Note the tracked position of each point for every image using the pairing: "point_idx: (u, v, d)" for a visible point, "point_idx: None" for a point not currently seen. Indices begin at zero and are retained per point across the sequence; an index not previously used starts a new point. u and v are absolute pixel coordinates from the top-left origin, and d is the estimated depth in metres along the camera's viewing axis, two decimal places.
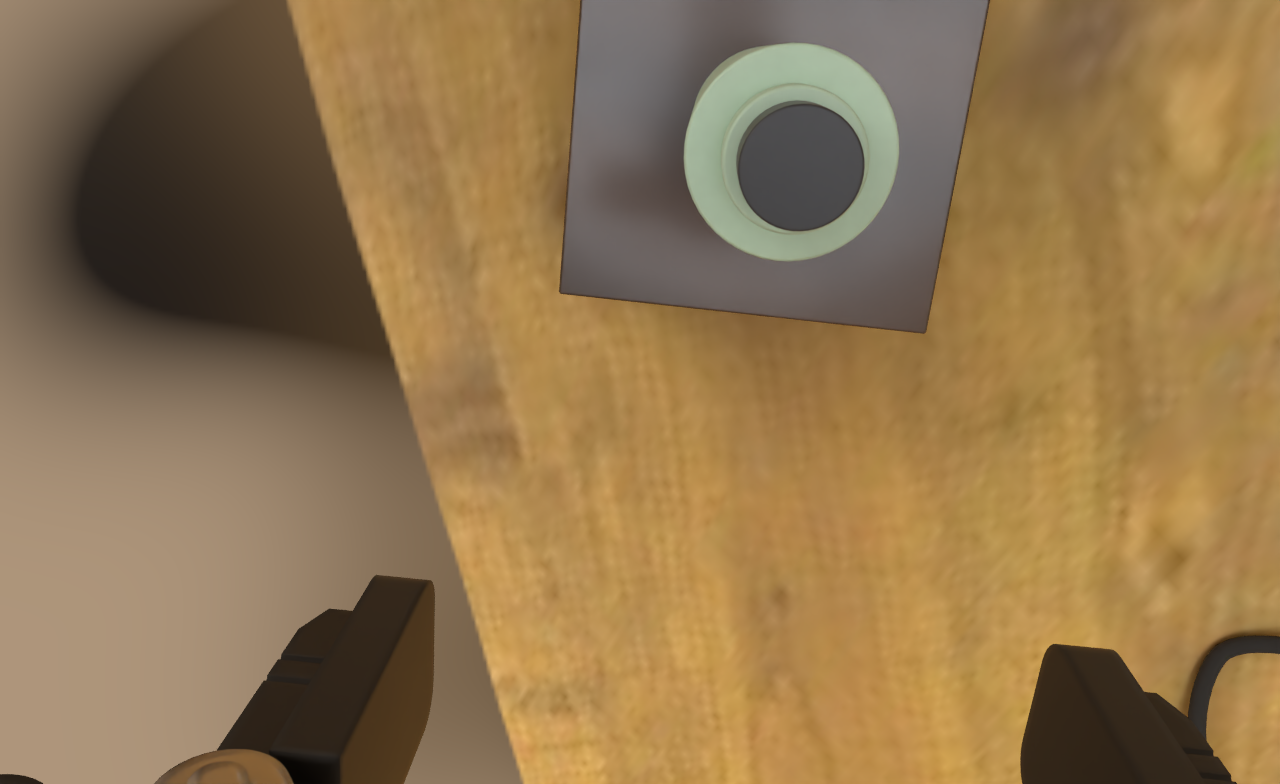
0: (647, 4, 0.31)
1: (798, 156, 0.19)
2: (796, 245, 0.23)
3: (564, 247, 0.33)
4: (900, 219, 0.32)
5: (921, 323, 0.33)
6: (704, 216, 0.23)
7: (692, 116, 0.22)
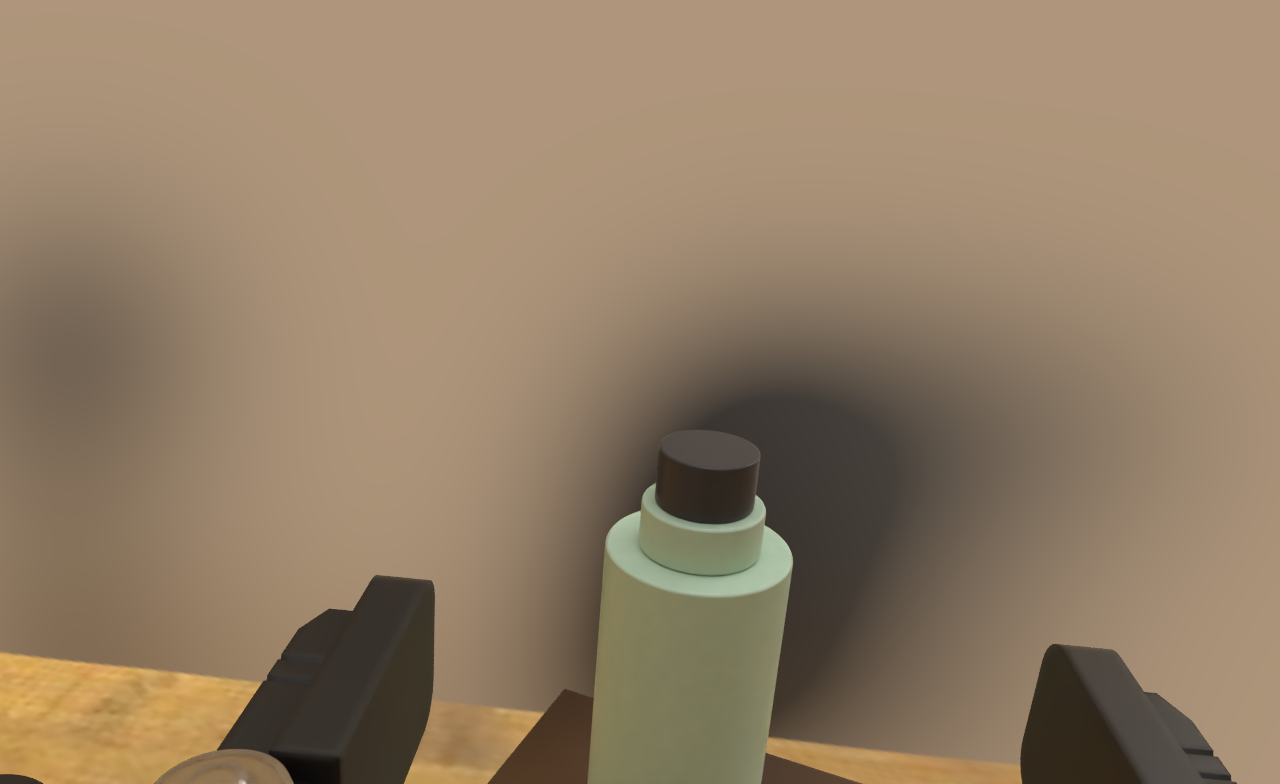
0: None
1: (720, 449, 0.24)
2: (621, 534, 0.25)
3: None
4: None
5: None
6: None
7: None
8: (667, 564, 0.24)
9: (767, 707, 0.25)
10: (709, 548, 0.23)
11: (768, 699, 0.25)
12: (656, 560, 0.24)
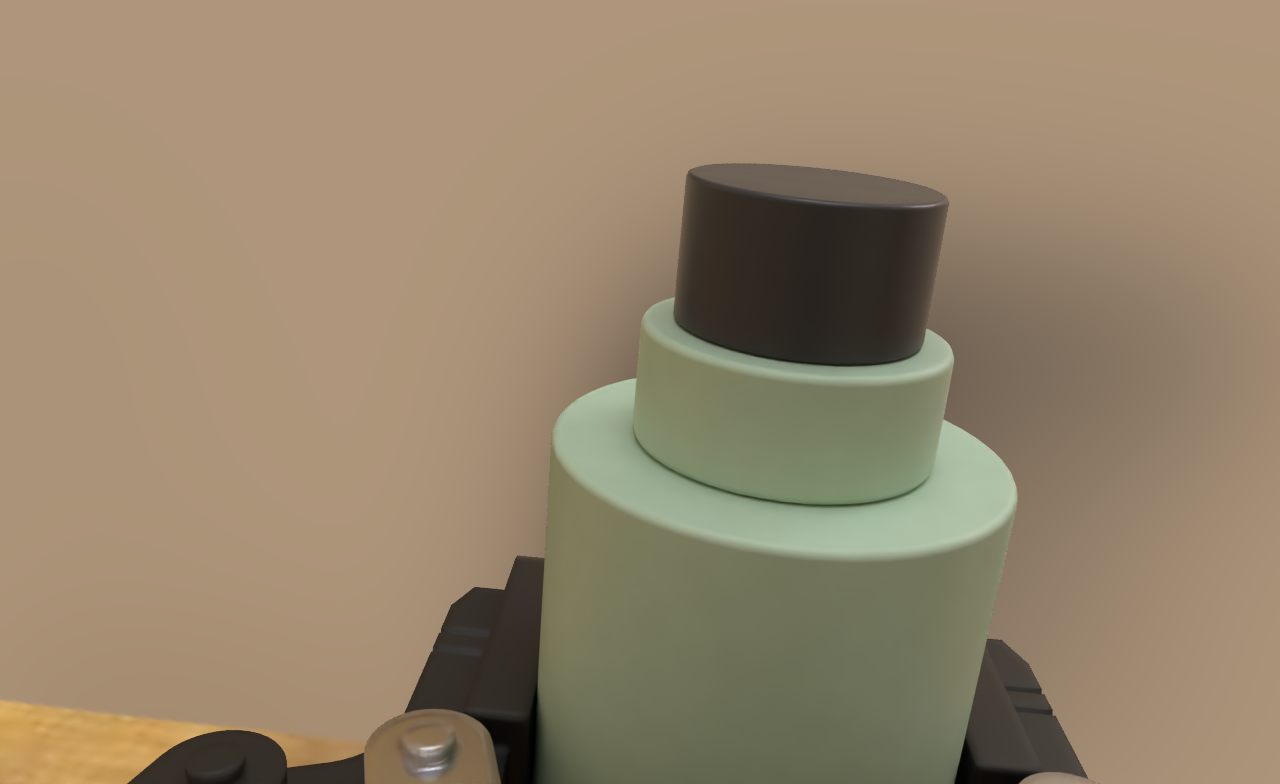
0: None
1: (842, 185, 0.09)
2: (592, 415, 0.11)
3: None
4: None
5: None
6: None
7: None
8: (707, 475, 0.09)
9: None
10: (822, 428, 0.09)
11: None
12: (677, 467, 0.09)
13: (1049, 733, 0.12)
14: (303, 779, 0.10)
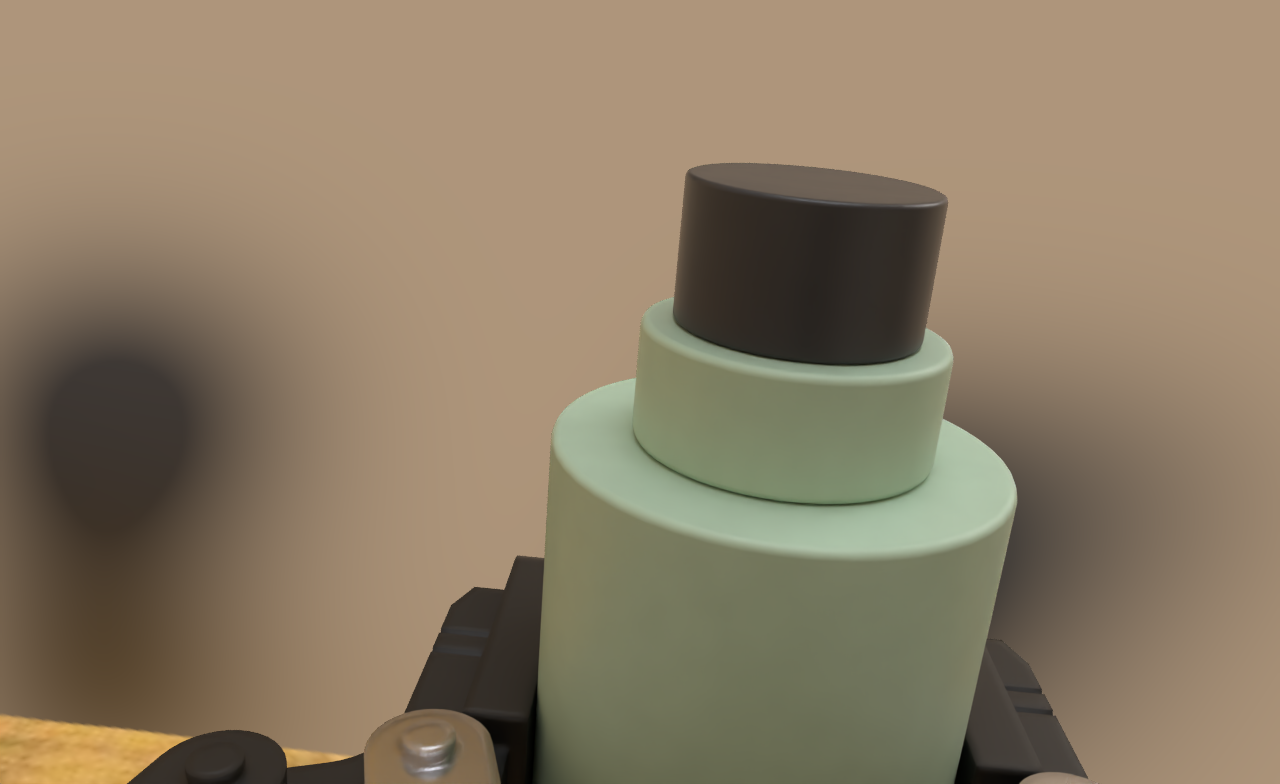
0: None
1: (842, 183, 0.09)
2: (592, 414, 0.11)
3: None
4: None
5: None
6: None
7: None
8: (706, 474, 0.09)
9: None
10: (822, 428, 0.09)
11: None
12: (677, 466, 0.09)
13: (1049, 733, 0.12)
14: (303, 780, 0.10)
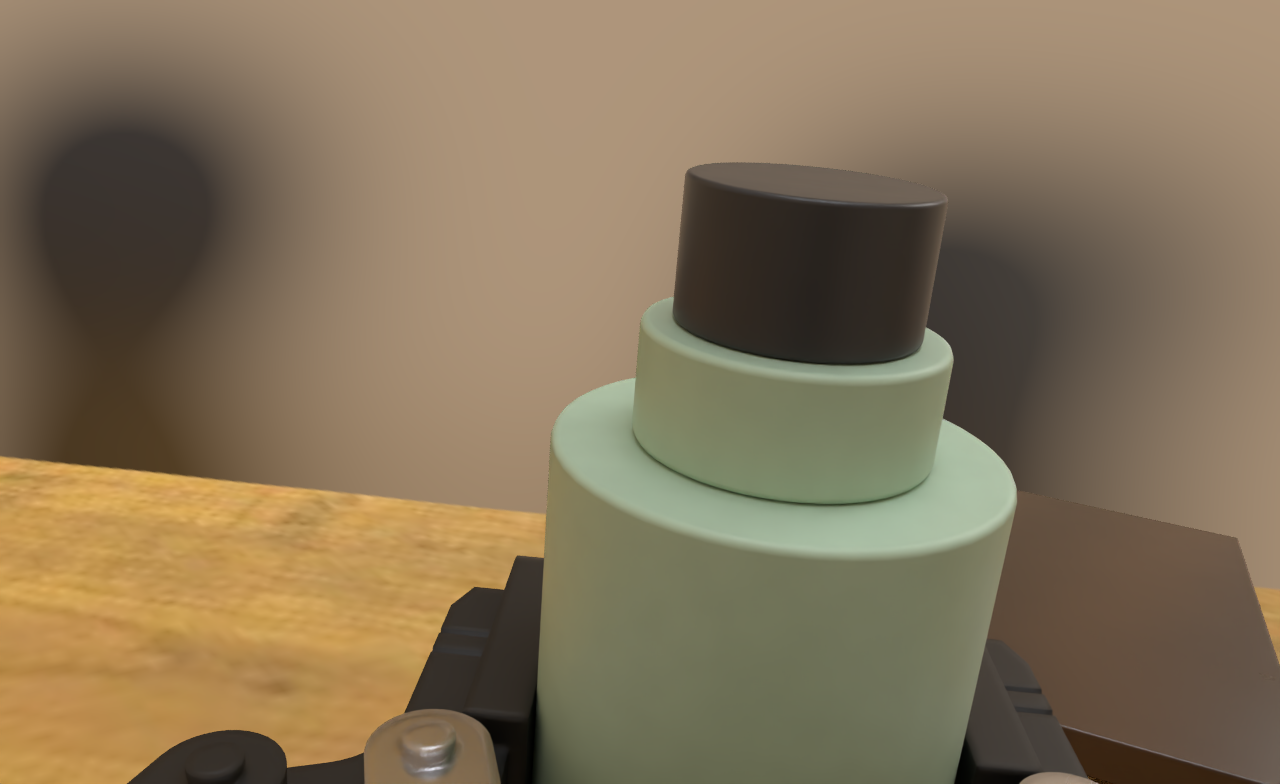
0: (1133, 542, 0.29)
1: (841, 182, 0.09)
2: (592, 414, 0.11)
3: None
4: None
5: None
6: None
7: None
8: (706, 474, 0.09)
9: None
10: (822, 427, 0.09)
11: None
12: (677, 466, 0.09)
13: (1049, 733, 0.12)
14: (303, 780, 0.10)
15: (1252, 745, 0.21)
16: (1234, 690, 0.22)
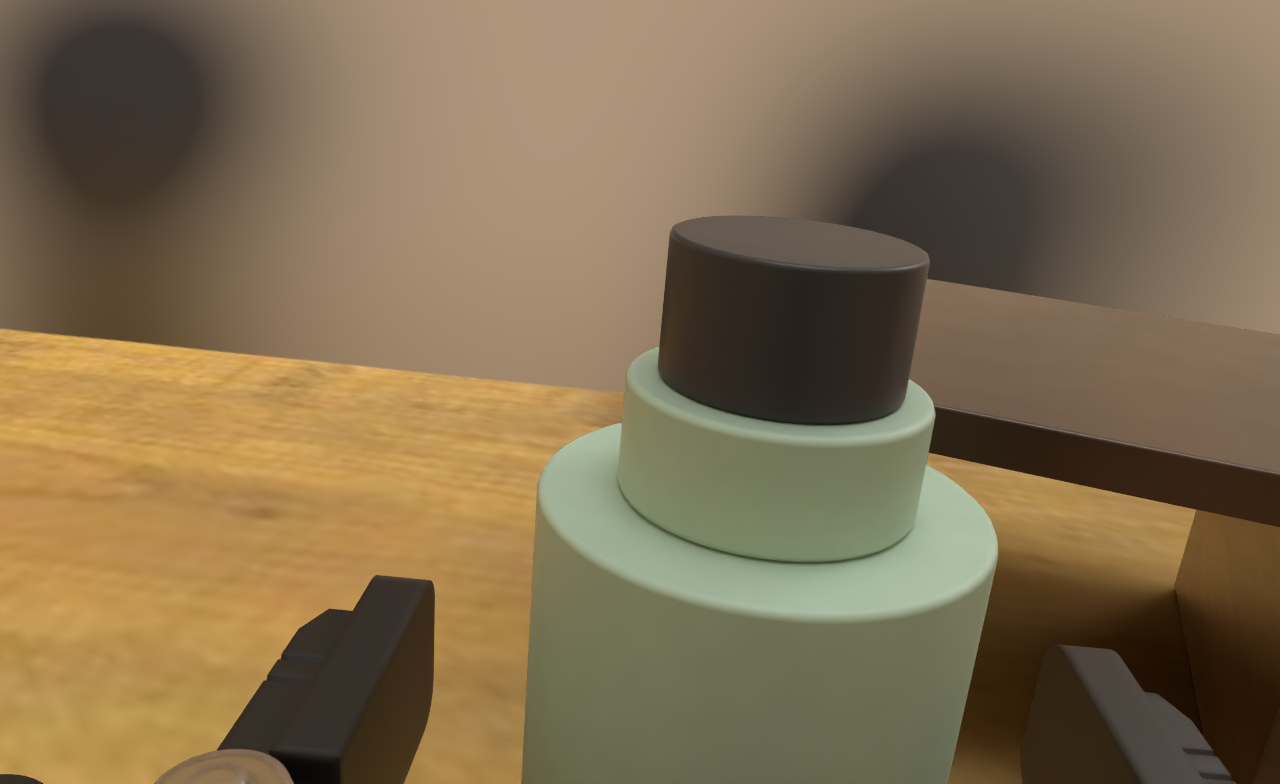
0: (1186, 336, 0.27)
1: (824, 240, 0.10)
2: (578, 464, 0.11)
3: None
4: (930, 382, 0.21)
5: None
6: None
7: None
8: (690, 532, 0.09)
9: None
10: (803, 488, 0.09)
11: None
12: (661, 522, 0.09)
13: None
14: None
15: None
16: None
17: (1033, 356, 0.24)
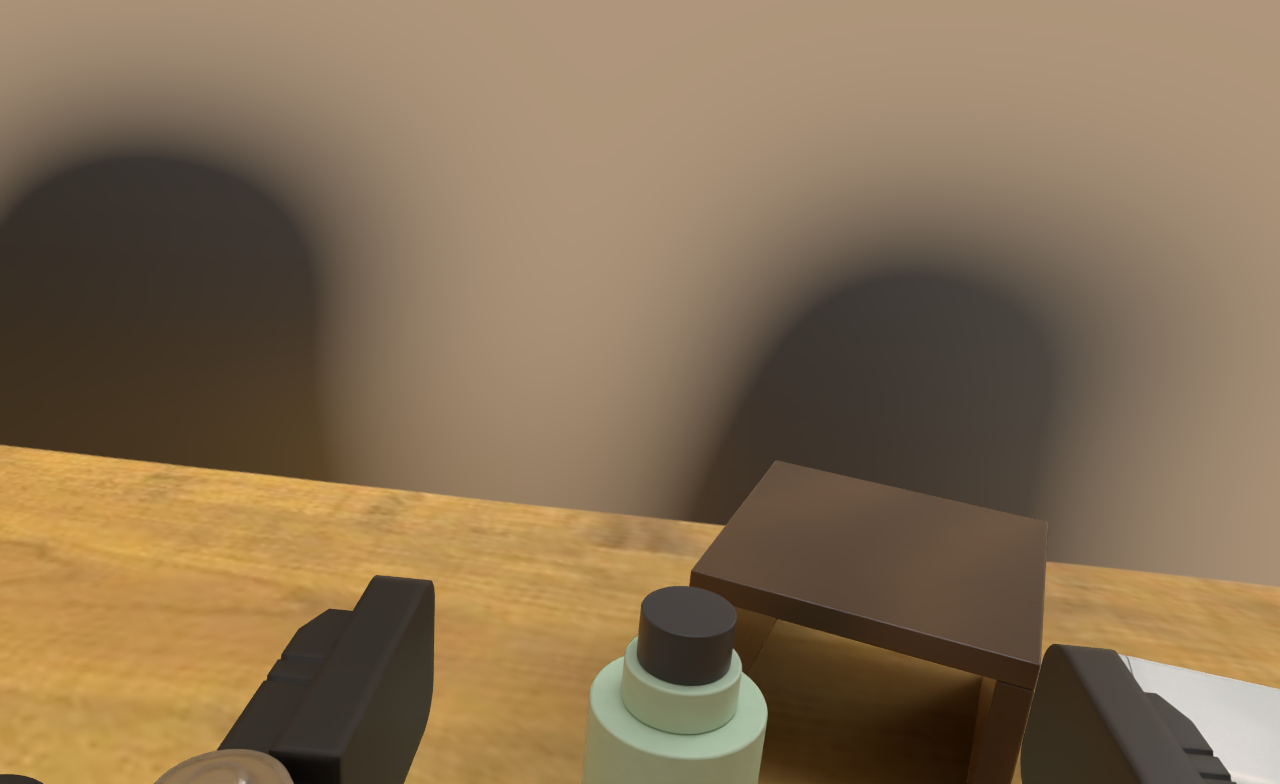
0: (974, 524, 0.43)
1: (699, 610, 0.26)
2: (605, 684, 0.27)
3: None
4: (796, 578, 0.37)
5: (701, 570, 0.37)
6: None
7: None
8: (647, 722, 0.25)
9: None
10: (687, 710, 0.25)
11: None
12: (637, 717, 0.25)
13: None
14: None
15: (1008, 637, 0.34)
16: (1008, 609, 0.36)
17: (866, 550, 0.40)
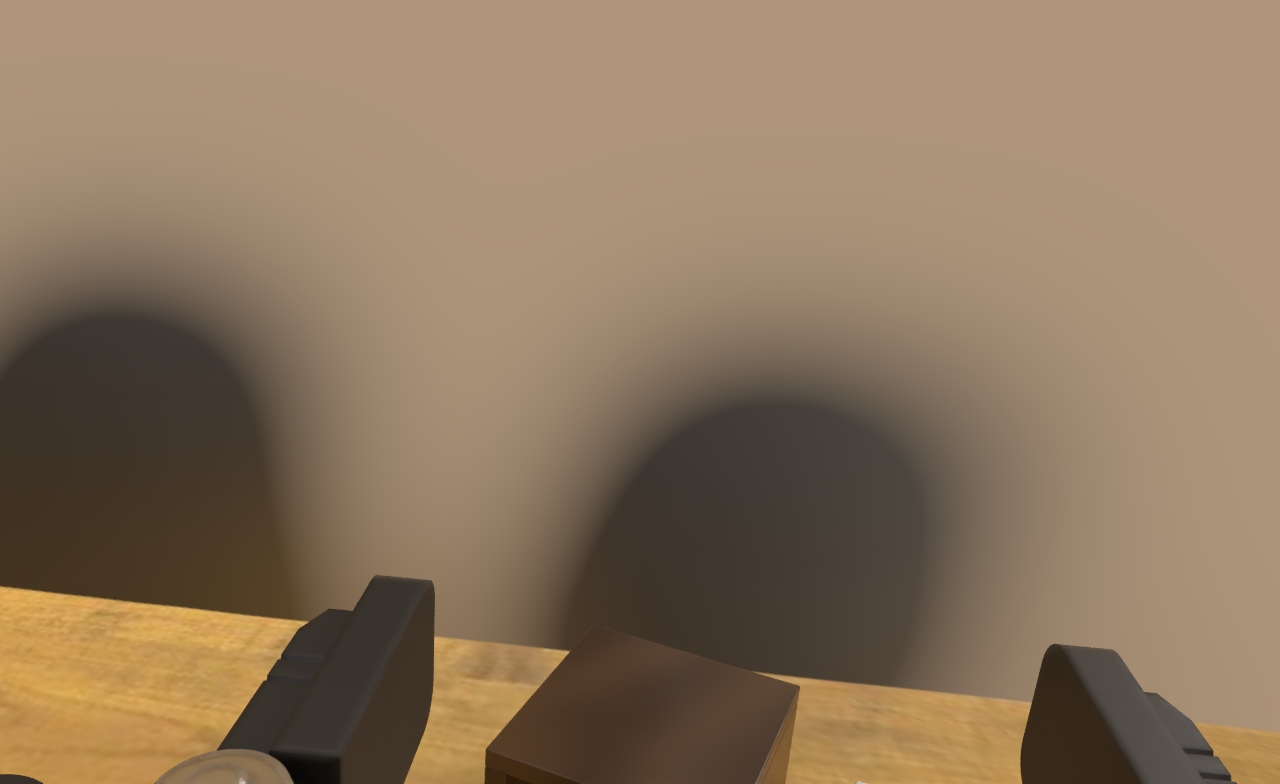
0: (736, 690, 0.53)
1: None
2: None
3: None
4: (568, 754, 0.47)
5: (494, 748, 0.47)
6: None
7: None
8: None
9: None
10: None
11: None
12: None
13: None
14: None
15: None
16: (729, 781, 0.47)
17: (635, 723, 0.50)
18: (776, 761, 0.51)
